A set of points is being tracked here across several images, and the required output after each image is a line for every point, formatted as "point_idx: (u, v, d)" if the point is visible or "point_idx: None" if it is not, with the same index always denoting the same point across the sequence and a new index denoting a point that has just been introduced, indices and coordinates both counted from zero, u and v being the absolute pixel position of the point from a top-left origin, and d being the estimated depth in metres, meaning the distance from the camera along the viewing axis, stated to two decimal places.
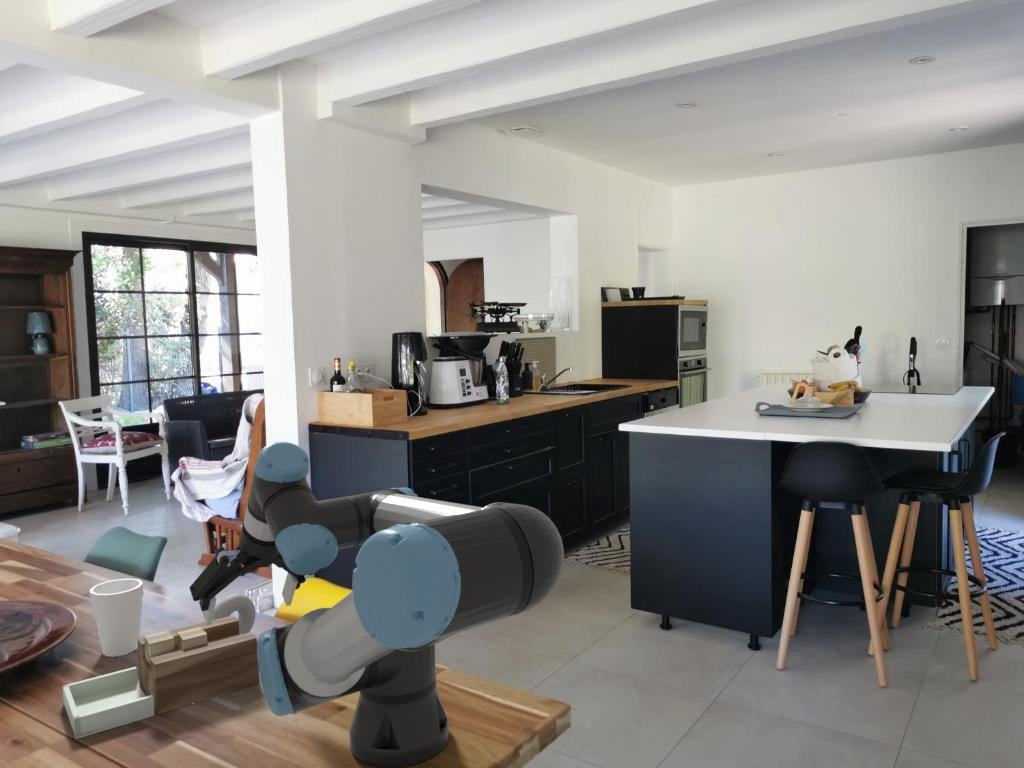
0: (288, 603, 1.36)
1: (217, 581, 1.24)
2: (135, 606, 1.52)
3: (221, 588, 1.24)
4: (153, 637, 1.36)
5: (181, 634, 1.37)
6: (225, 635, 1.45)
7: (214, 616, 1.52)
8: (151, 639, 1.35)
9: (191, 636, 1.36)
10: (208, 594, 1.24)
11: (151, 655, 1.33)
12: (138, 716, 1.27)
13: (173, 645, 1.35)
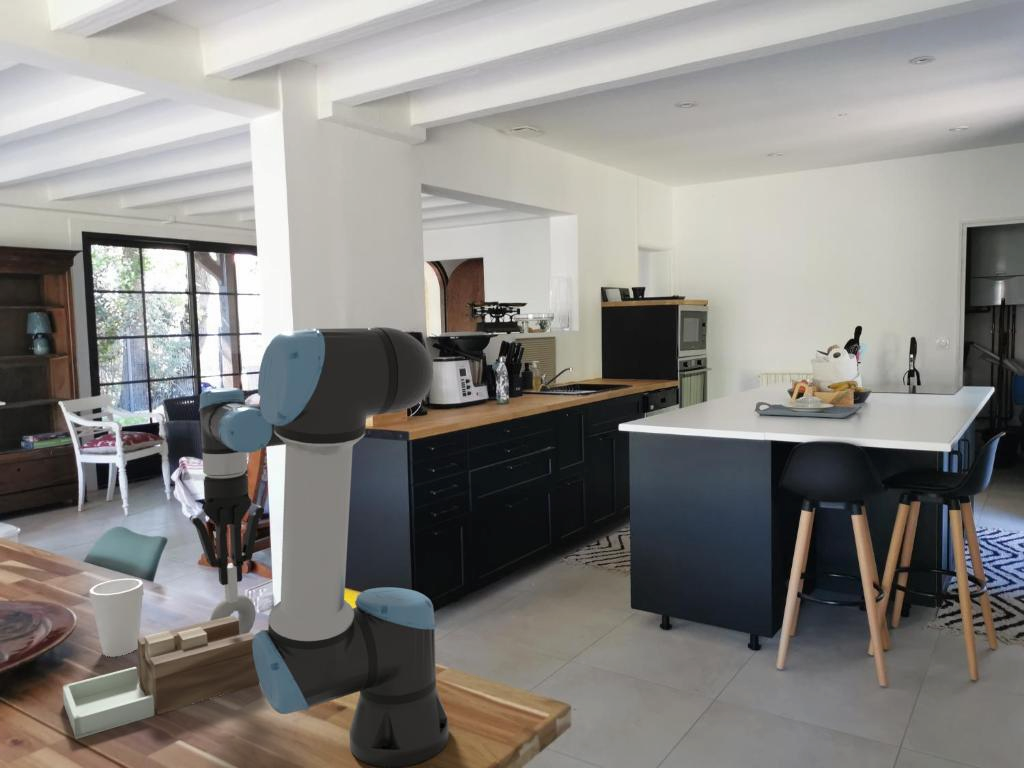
0: (234, 598, 1.41)
1: (218, 549, 1.40)
2: (135, 606, 1.52)
3: (224, 550, 1.40)
4: (153, 637, 1.36)
5: (181, 634, 1.37)
6: (225, 635, 1.45)
7: (214, 616, 1.52)
8: (151, 639, 1.35)
9: (191, 636, 1.36)
10: (220, 562, 1.40)
11: (151, 655, 1.33)
12: (138, 716, 1.27)
13: (173, 645, 1.35)
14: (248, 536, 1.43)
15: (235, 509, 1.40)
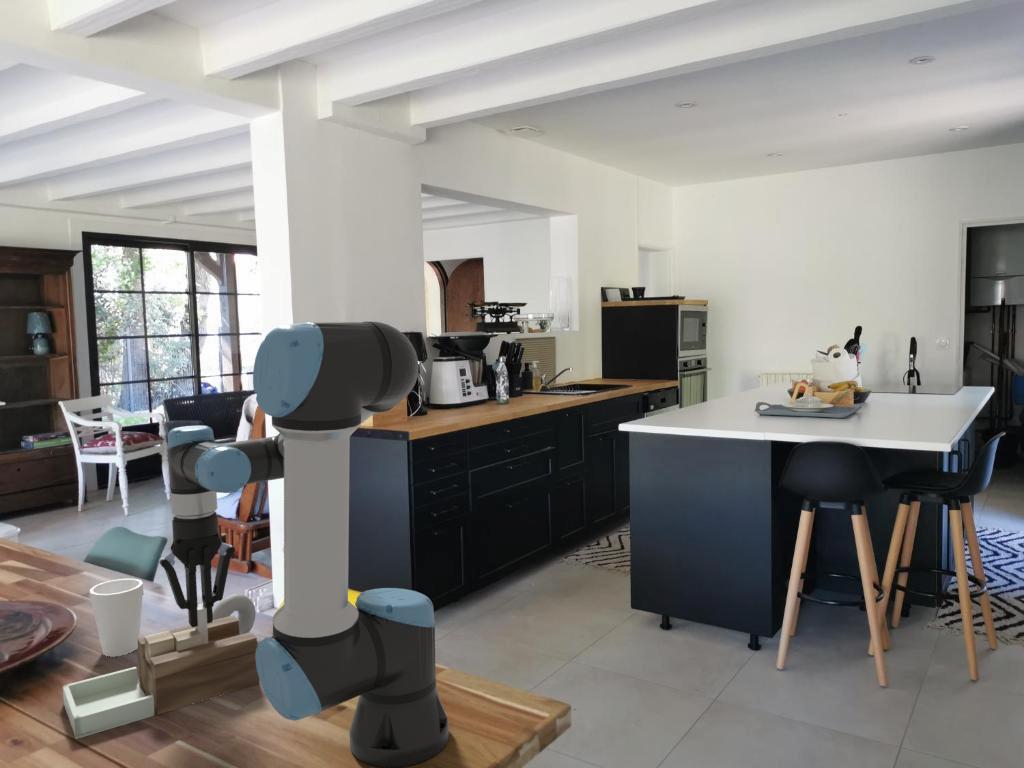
0: (205, 640, 1.38)
1: (188, 590, 1.37)
2: (135, 606, 1.52)
3: (193, 592, 1.37)
4: (153, 637, 1.36)
5: (176, 635, 1.36)
6: (225, 635, 1.45)
7: (214, 616, 1.52)
8: (151, 639, 1.35)
9: (186, 637, 1.35)
10: (190, 604, 1.37)
11: (151, 655, 1.33)
12: (138, 716, 1.27)
13: (173, 645, 1.35)
14: (218, 576, 1.40)
15: (204, 550, 1.37)
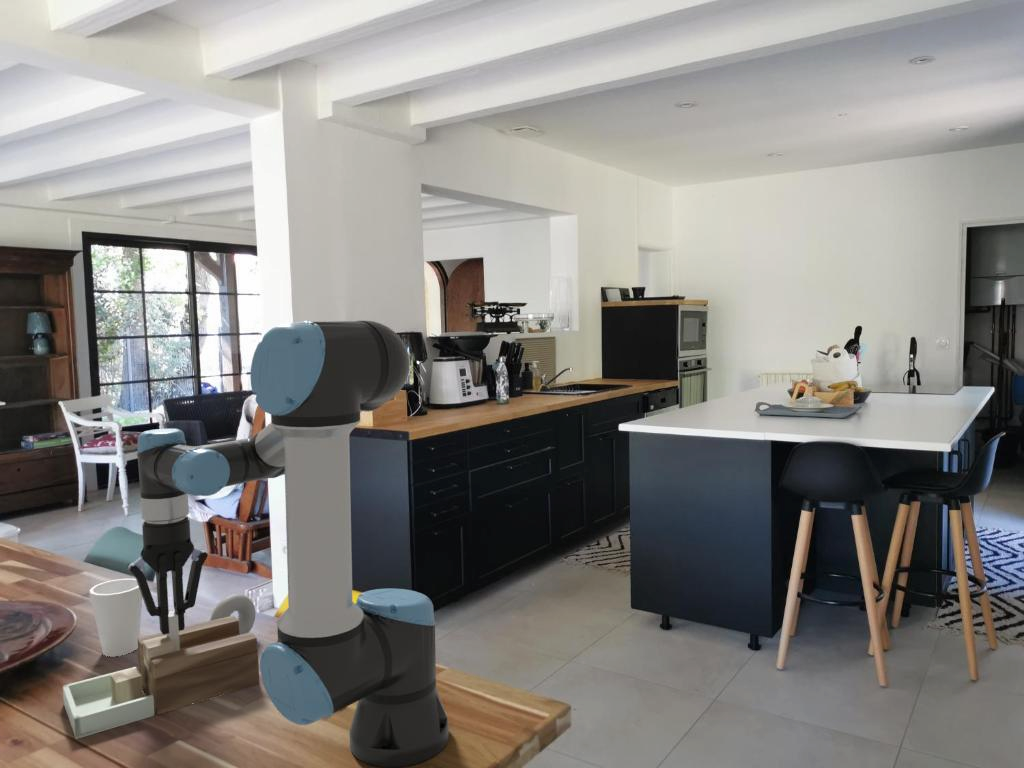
0: (176, 648, 1.35)
1: (159, 597, 1.34)
2: (135, 606, 1.52)
3: (164, 598, 1.34)
4: (113, 694, 1.32)
5: (146, 642, 1.33)
6: (225, 635, 1.45)
7: (214, 616, 1.52)
8: (114, 698, 1.32)
9: (156, 644, 1.33)
10: (161, 610, 1.34)
11: (131, 700, 1.32)
12: (138, 716, 1.27)
13: (125, 681, 1.31)
14: (190, 582, 1.37)
15: (175, 555, 1.34)
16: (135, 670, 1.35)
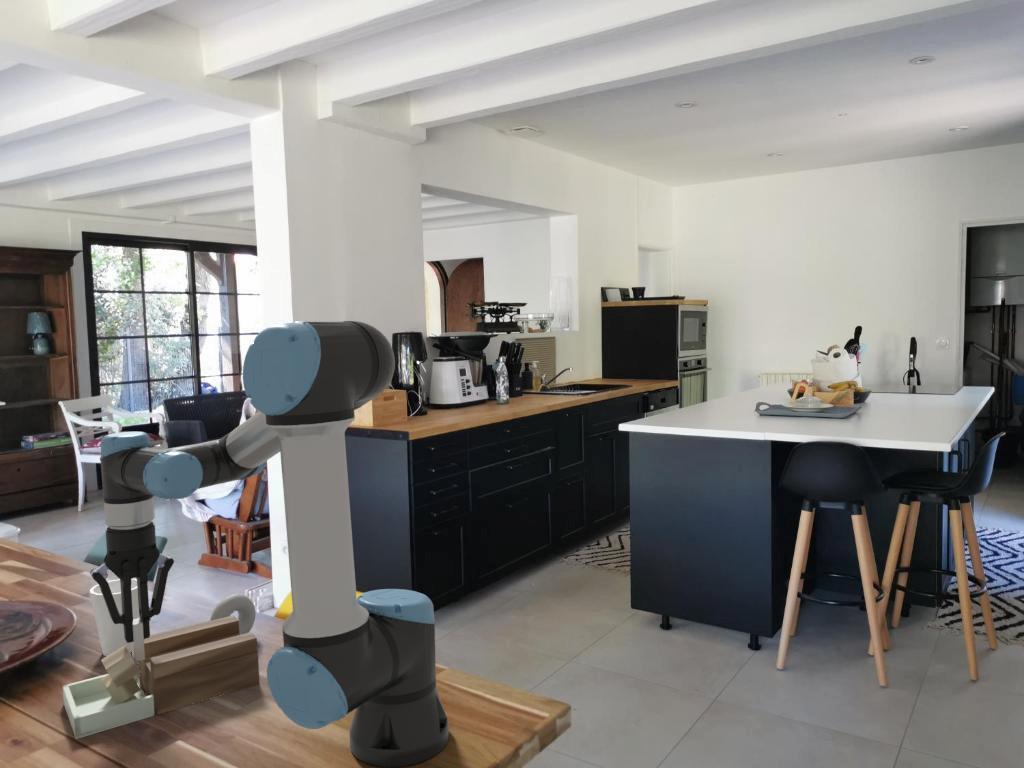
0: (141, 656, 1.32)
1: (123, 604, 1.31)
2: (135, 606, 1.52)
3: (128, 606, 1.31)
4: None
5: (104, 661, 1.29)
6: (225, 635, 1.45)
7: (214, 616, 1.52)
8: None
9: (114, 661, 1.28)
10: (125, 618, 1.31)
11: (129, 696, 1.32)
12: (138, 716, 1.27)
13: (114, 683, 1.30)
14: (156, 589, 1.34)
15: (140, 562, 1.30)
16: None
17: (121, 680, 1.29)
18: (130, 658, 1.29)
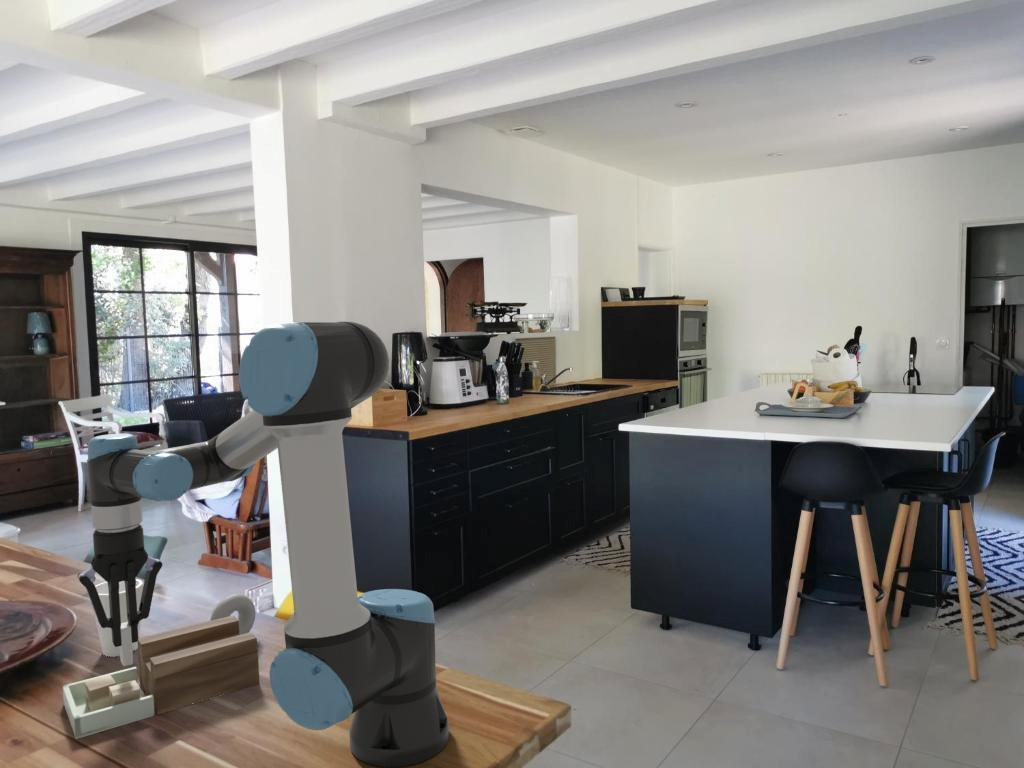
0: (129, 660, 1.31)
1: (110, 608, 1.30)
2: None
3: (116, 609, 1.29)
4: None
5: (116, 703, 1.26)
6: (225, 635, 1.45)
7: (214, 616, 1.52)
8: None
9: None
10: (112, 622, 1.29)
11: None
12: (138, 716, 1.27)
13: (92, 705, 1.28)
14: (144, 592, 1.32)
15: (128, 565, 1.29)
16: (86, 686, 1.30)
17: None
18: None
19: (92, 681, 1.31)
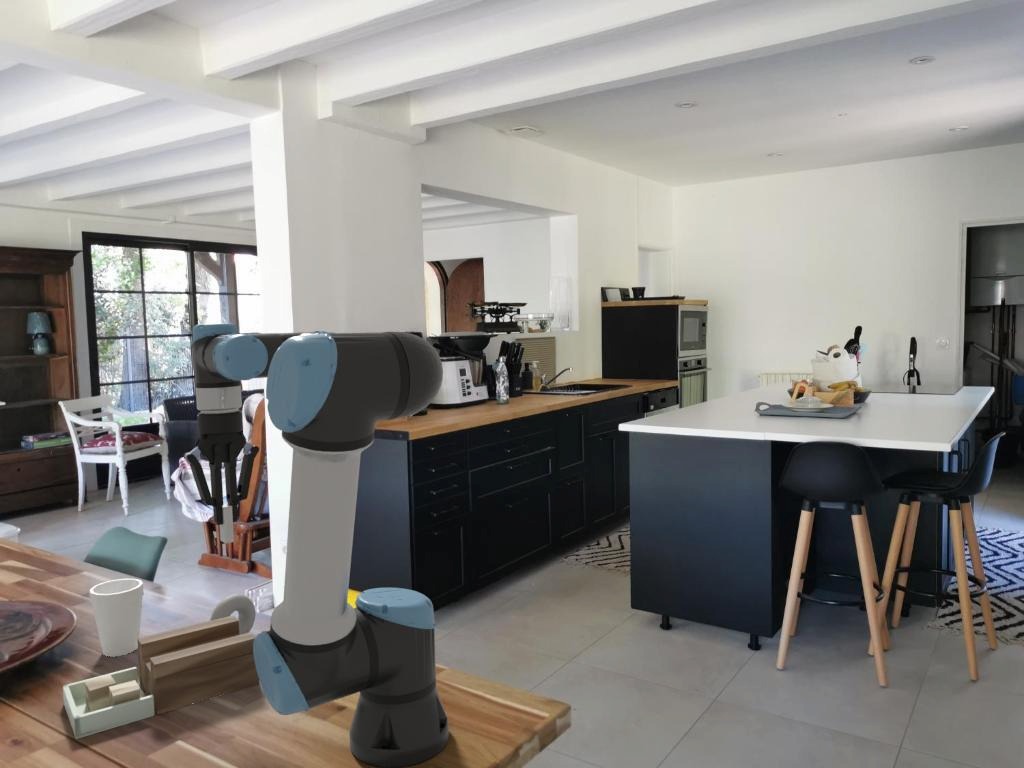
0: (230, 538, 1.38)
1: (213, 487, 1.37)
2: (135, 606, 1.52)
3: (219, 489, 1.37)
4: None
5: (116, 703, 1.26)
6: (225, 635, 1.45)
7: (214, 616, 1.52)
8: None
9: None
10: (216, 501, 1.37)
11: None
12: (138, 716, 1.27)
13: (92, 705, 1.28)
14: (243, 475, 1.40)
15: (230, 446, 1.37)
16: (86, 686, 1.30)
17: None
18: None
19: (92, 681, 1.31)
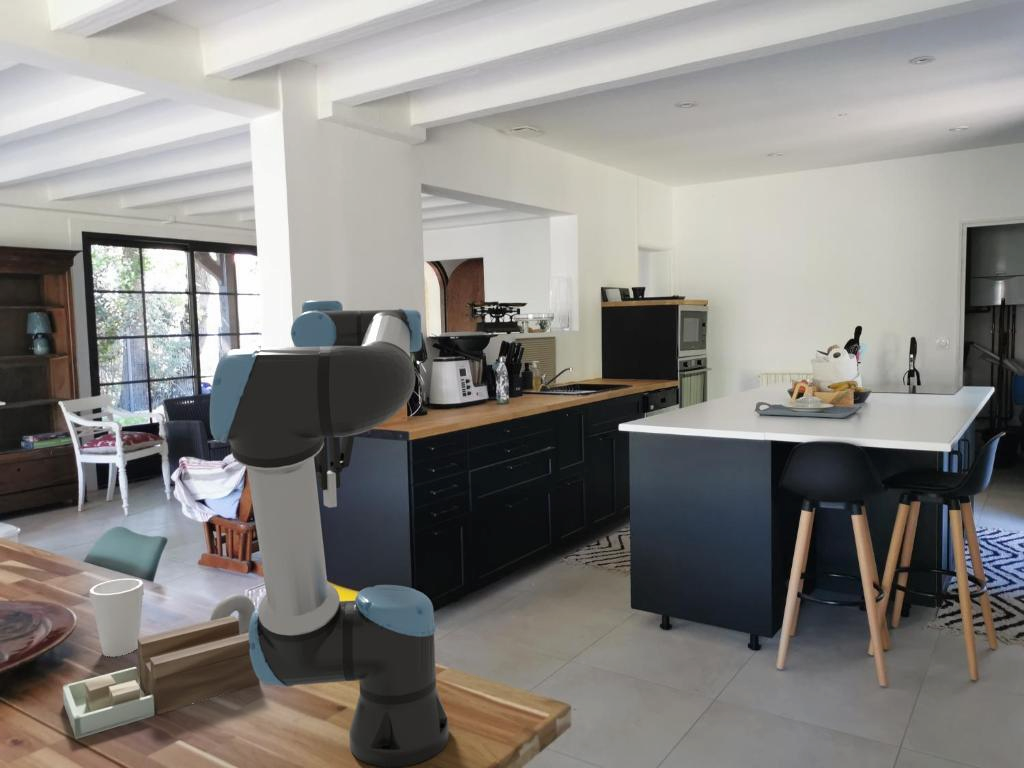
0: (334, 503, 1.47)
1: (319, 455, 1.46)
2: (135, 606, 1.52)
3: (324, 456, 1.46)
4: None
5: (116, 703, 1.26)
6: (225, 635, 1.45)
7: (214, 616, 1.52)
8: None
9: None
10: (321, 467, 1.45)
11: None
12: (138, 716, 1.27)
13: (92, 705, 1.28)
14: (345, 444, 1.49)
15: None
16: (86, 686, 1.30)
17: None
18: None
19: (92, 681, 1.31)
